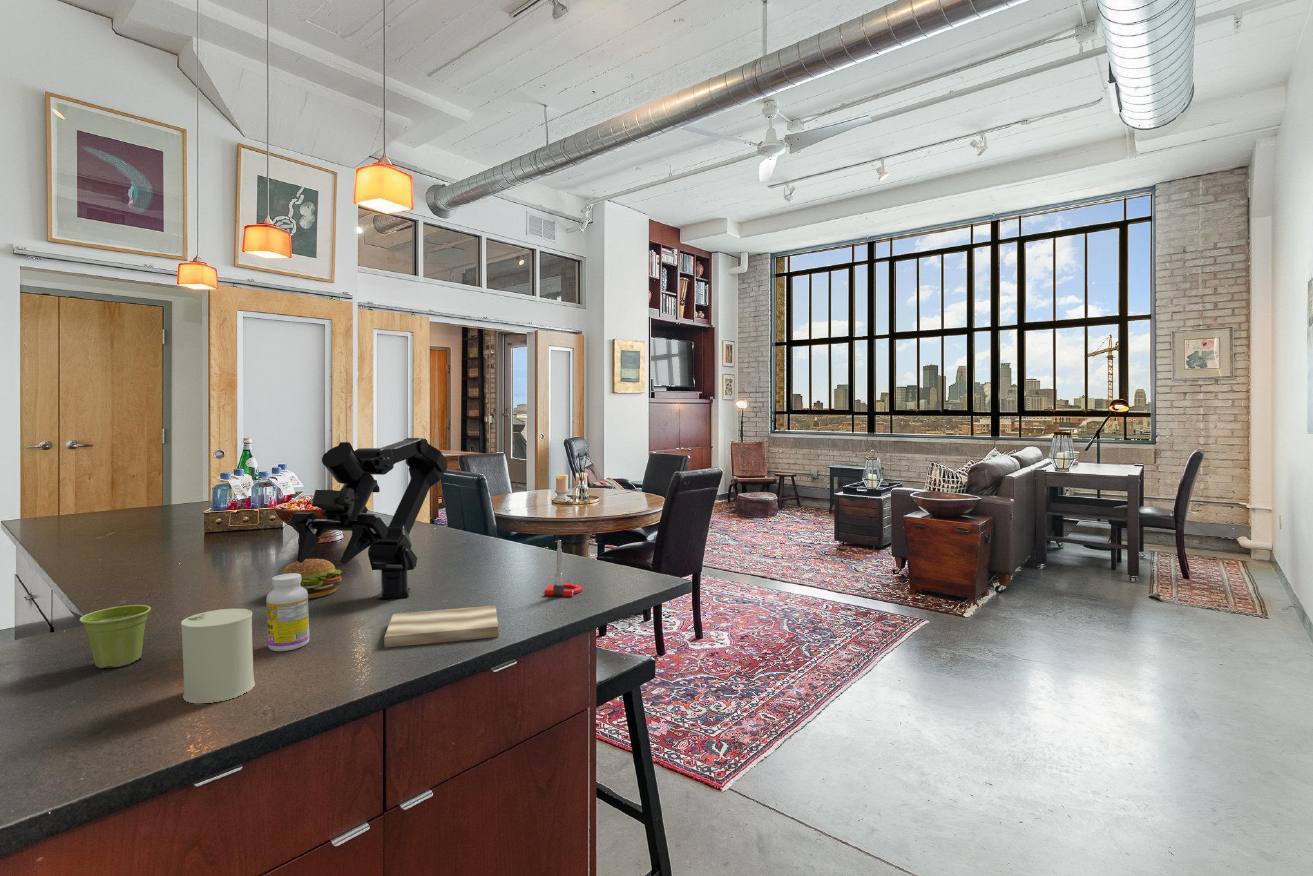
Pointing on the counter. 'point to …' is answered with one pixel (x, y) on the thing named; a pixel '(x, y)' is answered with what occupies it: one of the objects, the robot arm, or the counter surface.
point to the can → (217, 655)
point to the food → (316, 576)
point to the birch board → (441, 626)
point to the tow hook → (559, 587)
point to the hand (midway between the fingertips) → (320, 562)
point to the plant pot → (116, 633)
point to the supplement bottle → (287, 613)
